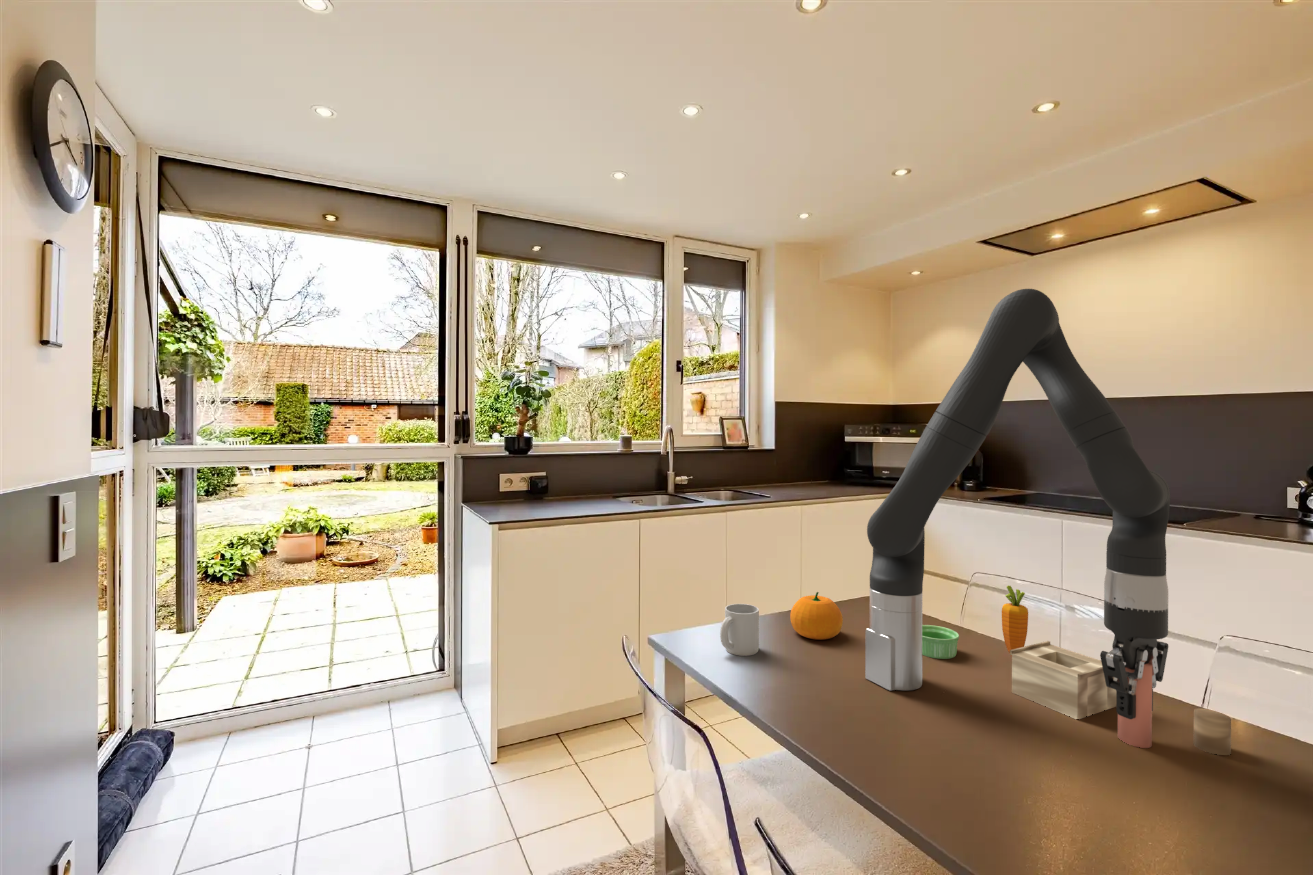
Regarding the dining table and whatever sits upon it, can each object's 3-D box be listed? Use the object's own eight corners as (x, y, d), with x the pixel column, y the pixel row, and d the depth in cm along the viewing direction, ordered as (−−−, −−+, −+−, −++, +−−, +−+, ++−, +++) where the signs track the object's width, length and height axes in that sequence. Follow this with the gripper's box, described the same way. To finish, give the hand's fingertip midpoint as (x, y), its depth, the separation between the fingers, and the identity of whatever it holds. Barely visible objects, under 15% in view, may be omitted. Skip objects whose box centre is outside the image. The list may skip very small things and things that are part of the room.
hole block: (1080, 720, 95) (1080, 674, 95) (1009, 691, 105) (1009, 650, 105) (1119, 707, 99) (1119, 663, 99) (1047, 680, 110) (1048, 640, 110)
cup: (765, 650, 125) (765, 609, 125) (734, 662, 119) (734, 619, 119) (740, 641, 131) (740, 601, 131) (709, 652, 124) (709, 610, 124)
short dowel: (1222, 758, 84) (1222, 723, 84) (1188, 744, 88) (1188, 711, 87) (1236, 751, 86) (1236, 717, 86) (1201, 738, 89) (1202, 706, 89)
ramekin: (909, 642, 130) (909, 623, 130) (953, 646, 128) (953, 626, 127) (915, 658, 121) (915, 636, 121) (963, 662, 119) (963, 641, 119)
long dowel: (1142, 750, 86) (1143, 669, 86) (1111, 737, 90) (1112, 659, 89) (1157, 744, 88) (1158, 664, 88) (1126, 731, 91) (1127, 655, 91)
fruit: (832, 625, 141) (832, 584, 141) (850, 643, 129) (850, 598, 129) (784, 626, 141) (784, 585, 140) (798, 644, 129) (798, 599, 129)
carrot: (1033, 665, 117) (1033, 590, 117) (1006, 663, 118) (1006, 589, 118) (1023, 656, 122) (1023, 584, 122) (996, 654, 123) (997, 583, 123)
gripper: (1133, 589, 95) (1132, 694, 95) (1080, 600, 89) (1079, 712, 89) (1191, 601, 88) (1190, 714, 88) (1137, 614, 82) (1136, 735, 82)
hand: (1134, 712), depth 89 cm, fingers closed on long dowel, 4 cm apart
